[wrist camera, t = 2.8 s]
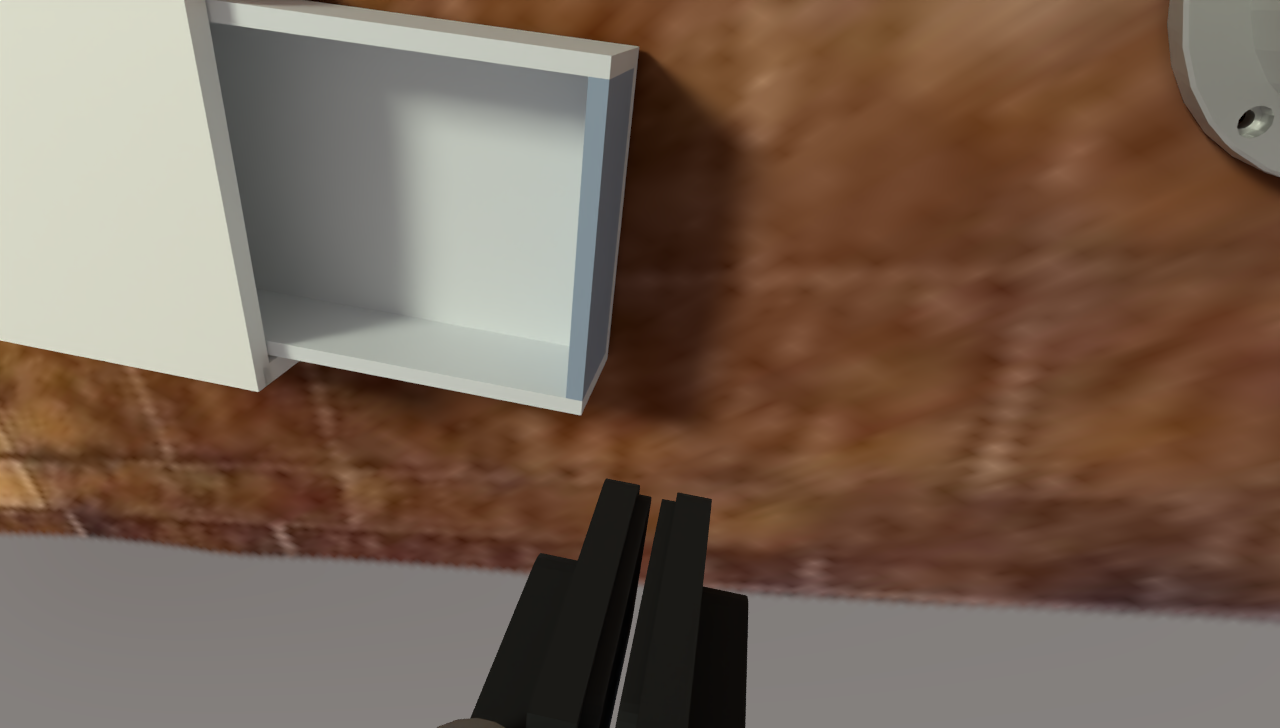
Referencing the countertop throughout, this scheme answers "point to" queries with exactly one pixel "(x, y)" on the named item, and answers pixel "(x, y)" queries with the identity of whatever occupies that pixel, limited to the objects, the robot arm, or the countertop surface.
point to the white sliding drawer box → (429, 193)
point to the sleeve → (123, 193)
